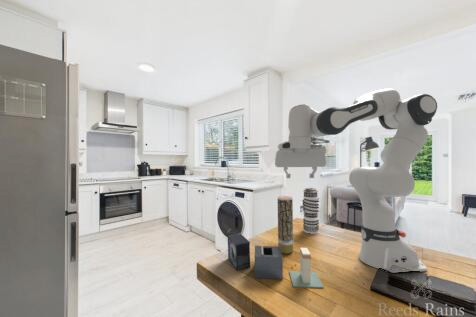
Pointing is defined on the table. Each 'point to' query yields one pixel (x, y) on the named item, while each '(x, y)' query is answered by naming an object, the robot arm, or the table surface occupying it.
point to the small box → (239, 251)
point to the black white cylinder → (310, 211)
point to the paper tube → (285, 224)
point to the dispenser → (268, 262)
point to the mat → (298, 280)
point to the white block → (305, 265)
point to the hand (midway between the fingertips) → (300, 178)
